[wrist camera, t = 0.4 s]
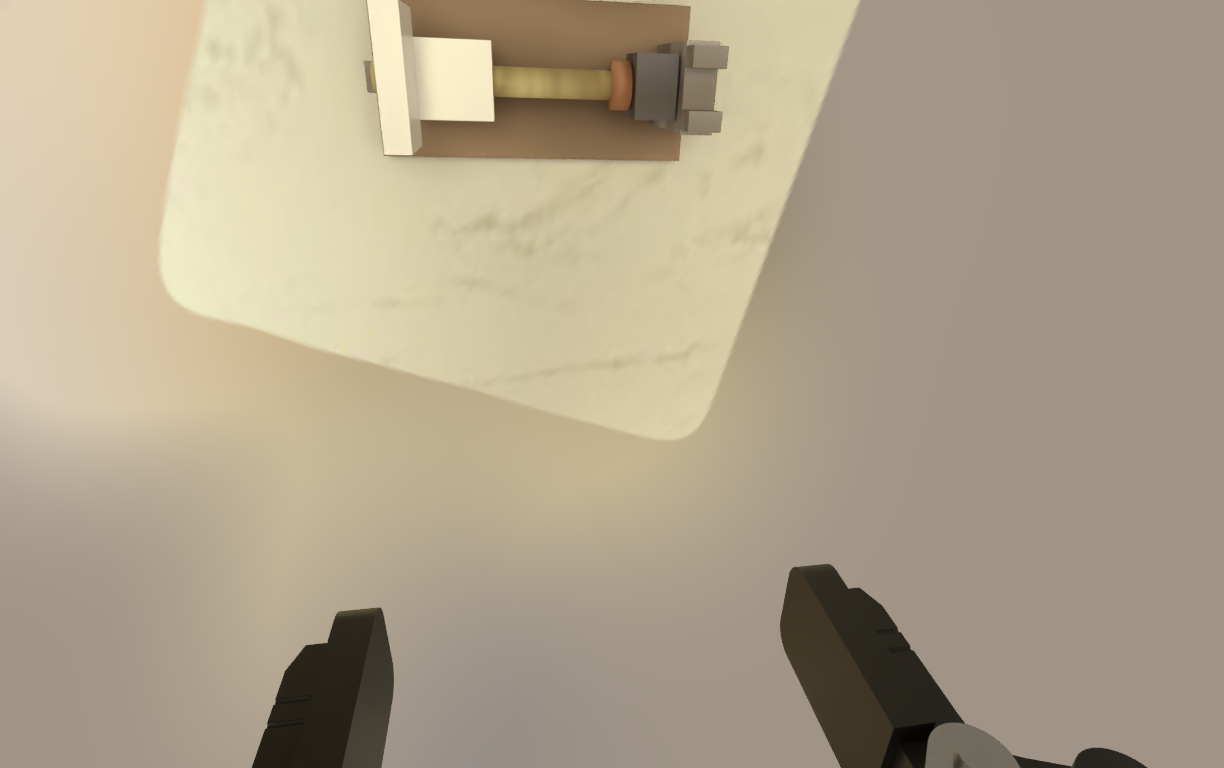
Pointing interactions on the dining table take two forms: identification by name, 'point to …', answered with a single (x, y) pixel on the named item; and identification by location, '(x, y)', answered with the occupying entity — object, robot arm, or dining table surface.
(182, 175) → the dining table surface
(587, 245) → the dining table surface
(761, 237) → the dining table surface
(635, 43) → the linear actuator
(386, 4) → the cream stepped block
